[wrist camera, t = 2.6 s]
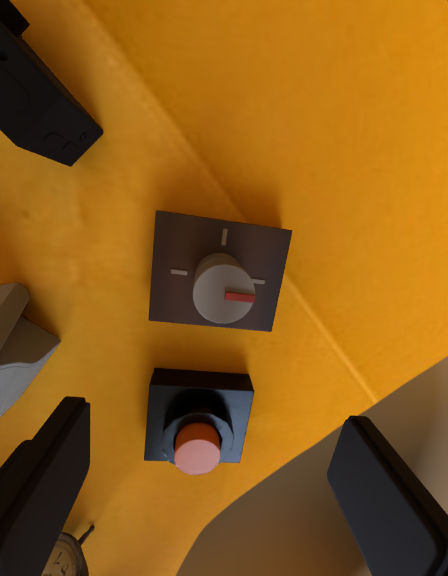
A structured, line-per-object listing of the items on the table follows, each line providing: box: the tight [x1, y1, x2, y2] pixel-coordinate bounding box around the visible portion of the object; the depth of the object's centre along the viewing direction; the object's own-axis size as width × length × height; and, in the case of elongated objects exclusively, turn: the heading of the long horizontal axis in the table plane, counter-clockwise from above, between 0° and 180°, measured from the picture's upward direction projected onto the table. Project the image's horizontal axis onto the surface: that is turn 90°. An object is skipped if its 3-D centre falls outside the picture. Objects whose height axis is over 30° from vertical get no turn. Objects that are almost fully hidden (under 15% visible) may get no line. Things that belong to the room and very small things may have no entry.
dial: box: [193, 253, 255, 323], centre depth 20 cm, size 4×4×6 cm
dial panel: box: [149, 211, 292, 332], centre depth 24 cm, size 12×10×3 cm
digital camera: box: [0, 0, 103, 167], centre depth 17 cm, size 10×5×7 cm, turn 40°
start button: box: [174, 423, 220, 475], centre depth 25 cm, size 4×4×2 cm
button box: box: [144, 368, 254, 465], centre depth 28 cm, size 11×10×5 cm
